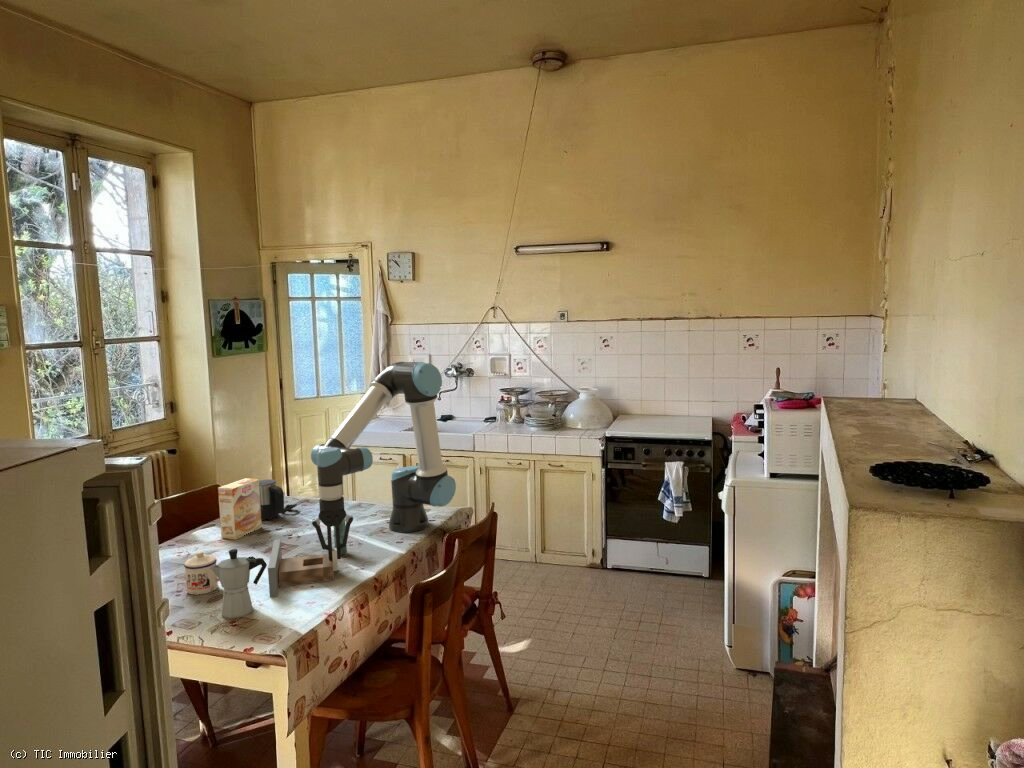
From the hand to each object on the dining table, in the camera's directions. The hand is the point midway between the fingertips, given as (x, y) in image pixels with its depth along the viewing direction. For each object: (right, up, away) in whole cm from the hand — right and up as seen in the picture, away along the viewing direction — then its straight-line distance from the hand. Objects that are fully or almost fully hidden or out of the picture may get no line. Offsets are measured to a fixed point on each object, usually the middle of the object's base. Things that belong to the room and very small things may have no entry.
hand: (335, 569), depth 219 cm
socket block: (-8, -2, -2) cm, 9 cm away
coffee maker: (-20, -5, -26) cm, 33 cm away
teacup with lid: (-37, -4, -9) cm, 38 cm away
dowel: (-3, 0, +18) cm, 18 cm away
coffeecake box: (-47, +2, +43) cm, 64 cm away
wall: (-17, -2, -4) cm, 18 cm away
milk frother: (-41, +5, +66) cm, 78 cm away
